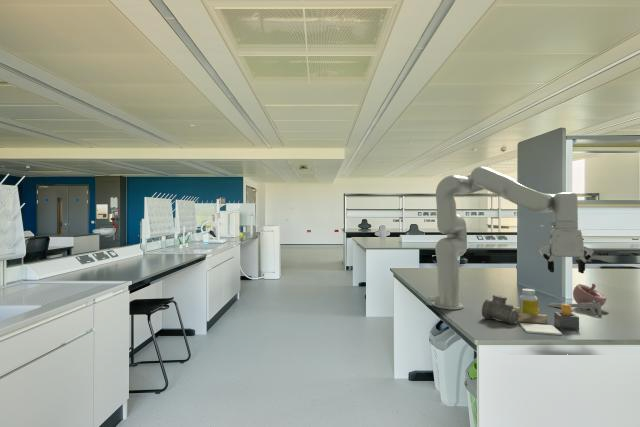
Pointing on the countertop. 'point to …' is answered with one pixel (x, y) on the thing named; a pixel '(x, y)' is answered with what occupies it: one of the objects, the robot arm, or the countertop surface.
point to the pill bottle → (528, 302)
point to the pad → (540, 329)
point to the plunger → (566, 309)
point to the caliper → (584, 306)
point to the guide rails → (531, 317)
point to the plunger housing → (566, 321)
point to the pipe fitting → (499, 310)
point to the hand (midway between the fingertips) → (566, 272)
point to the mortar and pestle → (588, 295)
